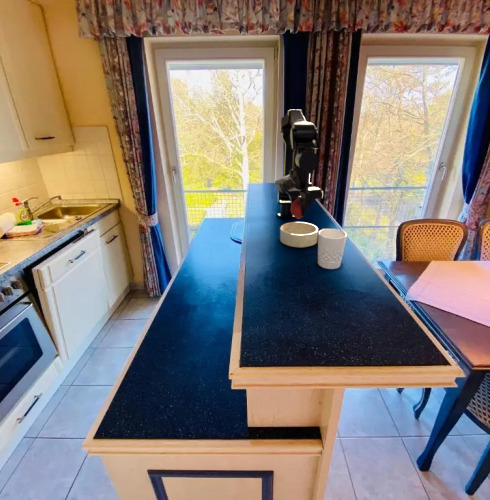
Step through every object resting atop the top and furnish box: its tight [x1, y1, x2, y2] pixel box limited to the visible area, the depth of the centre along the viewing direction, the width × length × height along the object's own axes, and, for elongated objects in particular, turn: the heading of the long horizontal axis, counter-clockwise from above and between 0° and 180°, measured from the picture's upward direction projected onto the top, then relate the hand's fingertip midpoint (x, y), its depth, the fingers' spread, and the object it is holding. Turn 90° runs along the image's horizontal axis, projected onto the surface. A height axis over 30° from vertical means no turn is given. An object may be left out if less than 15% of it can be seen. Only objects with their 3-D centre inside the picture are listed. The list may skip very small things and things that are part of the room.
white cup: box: [317, 228, 348, 270], centre depth 82 cm, size 8×8×10 cm
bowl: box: [279, 221, 319, 248], centre depth 100 cm, size 13×13×5 cm
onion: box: [290, 196, 304, 220], centre depth 96 cm, size 6×6×8 cm
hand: (298, 213), depth 96 cm, fingers closed on onion, 6 cm apart
